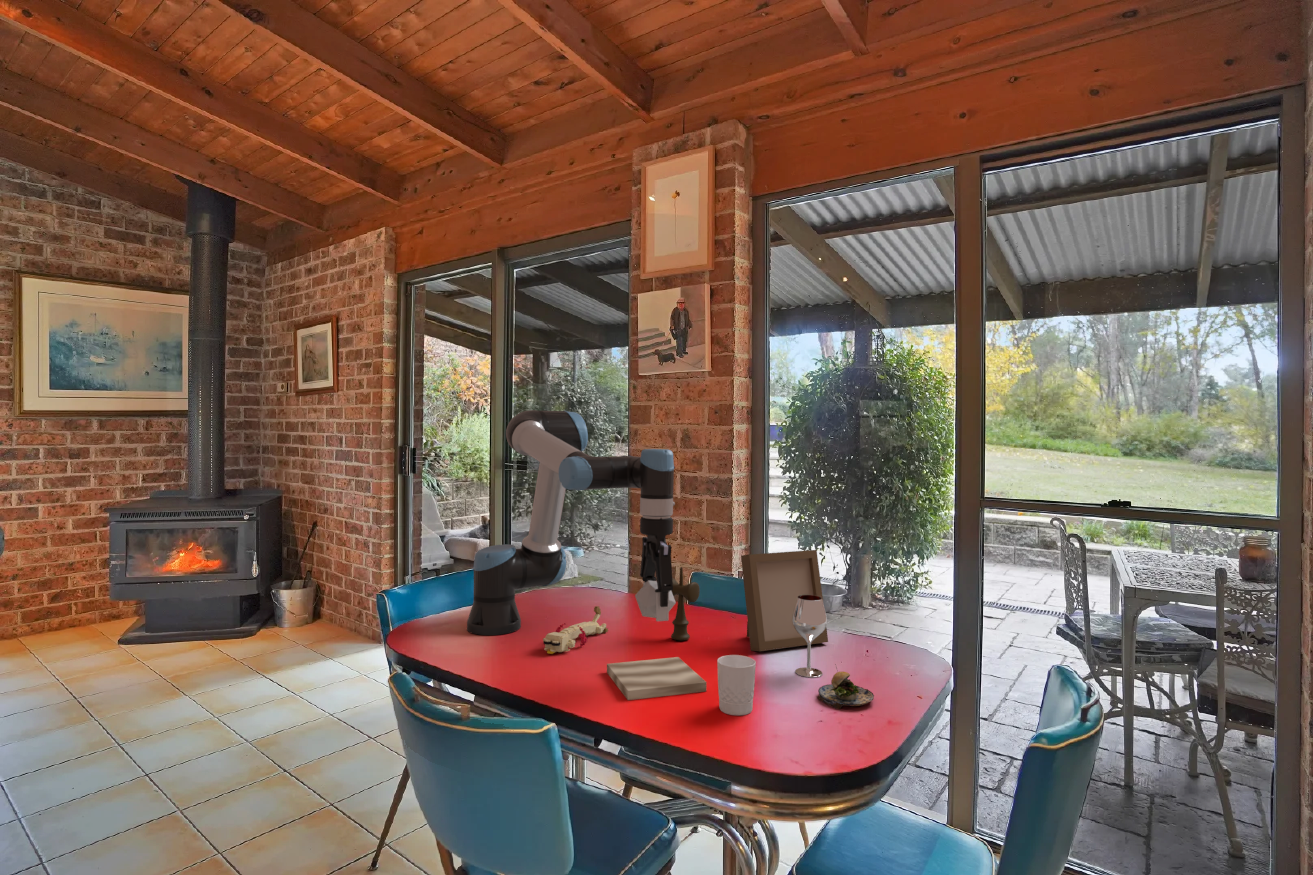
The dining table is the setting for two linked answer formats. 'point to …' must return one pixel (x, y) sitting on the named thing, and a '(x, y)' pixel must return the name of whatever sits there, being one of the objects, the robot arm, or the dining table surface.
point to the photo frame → (778, 596)
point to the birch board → (655, 678)
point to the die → (650, 599)
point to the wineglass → (809, 626)
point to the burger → (843, 692)
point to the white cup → (736, 684)
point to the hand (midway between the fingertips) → (655, 615)
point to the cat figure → (573, 634)
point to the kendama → (691, 595)
